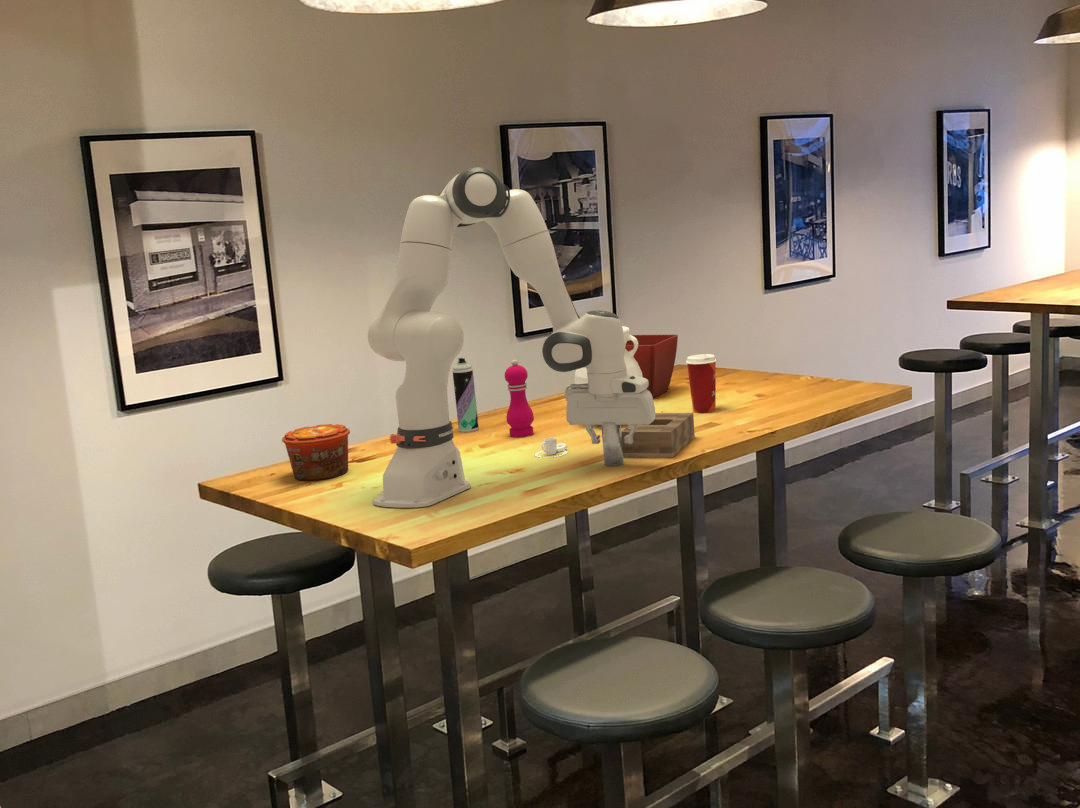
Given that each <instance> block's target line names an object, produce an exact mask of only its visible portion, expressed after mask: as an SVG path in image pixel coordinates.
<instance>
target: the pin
mask: <svg viewBox="0 0 1080 808" xmlns="http://www.w3.org/2000/svg"><path fill="white" fill-rule="evenodd" d="M600 426H601V428H600V429H601V438H602V439H601V441H602V451H603V461H604V463H603V465H604V466H605V467H610V468H611V467H614V468H615V467H620V466H622V465H624V464H625V461H624V458H625V457H623V445H622V432H621V431H622V425H616V424H615V422H609V423H602V425H600Z"/></svg>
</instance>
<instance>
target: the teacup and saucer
mask: <svg viewBox="0 0 1080 808" xmlns="http://www.w3.org/2000/svg"><path fill="white" fill-rule="evenodd" d="M540 445H541V449H542V450H541V451H540V450H539V451H537V452H535V454H534V457H535V458H539V457H540V458H541V459H552V458H551V457H552V456H553V454H554V458H559V457H562V456H565V455H567V454H568V451H567V448H568V445H567V444H566V443H564V442H563V443H562V442H560V443H557V438H556V437H545V438H543V441H542V443H541V444H540ZM541 452H543V453H545V454H546V455H547V456H542V457H543V458H542V457H541V455H540V454H539V453H541ZM563 452H564V453H563ZM557 453H561V454H562V455H561V454H559V456H558V455H556V454H557ZM538 454H539V456H538ZM541 454H542V453H541ZM549 457H550V458H549Z"/></svg>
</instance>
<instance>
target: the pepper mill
mask: <svg viewBox="0 0 1080 808" xmlns="http://www.w3.org/2000/svg"><path fill="white" fill-rule="evenodd" d="M528 375H529V374H528V370H527V369H526V368H525V367H524V366H523V365H519V361H518V360H517V359H512V360H511V365H510V366H509V367H507V368H506V369H505V372H504V380H505V381H506V382H507V383H508V384H507V391H509V395H510V403H509V407H508V409H507V412H506V416H505V417H506V422H507V424H508V425H509V426H510V428H509V436H510V437H512V438H525V437H529V436H531V435H532V436H533V435H534V427H533V426H532V424H533V422H534V420H535V416H534V415H535V414H534V412H533V410H532V408H531V406H530V404H529V402H528V400H527V396H526V390H527V388H528V386H527V382H526V381H527V379H528V377H529V376H528Z"/></svg>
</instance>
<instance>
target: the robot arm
mask: <svg viewBox="0 0 1080 808" xmlns="http://www.w3.org/2000/svg"><path fill="white" fill-rule="evenodd" d="M479 222H485V223H486V224H487V225H489V226H490V227H491V228H492V229H493V231H494V233H495V234H496V236H497V239H498V243H499V245H500V248H501V251H502V255H503V256H504V258H505V260H506V263H507V264H508V266H509V268H510V270H511V271H512V273H513V274H514V275H515V277H518V279H521V280H522V281H524V282H526V283H527V284H529V285H530V286H531V287H532V288H534V290H535V291H536V292H537V294H538V295H539V296H540V299H541V302H542V304H543V306H544V308H545V311H546V313H547V316H548V317H549V321H550V323H551V325H552V333H551V334H549V335H548V336H547V337H546V338H545V340H544V342H543V345H542V352H541V353H542V358H543V360H544V362H545V364H547V366H548V368H550V369H552V370H554V371H555V372H558V373H559V372H560V373H569V372H572V371H576V369H580V368H586V369H587V378H588V384H574V383H571V384H569V386H567V387H566V388H565V391H564V397H565V401H566V407H565V408H566V410H565V411H566V412H565V413H566V414H565V415H566V417H565V418H566V421H567V423H568V424H569V425H571V426H573V425H574V426H577V425H578V426H585V430H586V432H587V433H588V435H589V436H590V439H591V444H592V445H599V444H600V443H601V439H600V438H601V435H600V434H597V433H596V432H595V430H594V428H595V426H601V425H602V423H609V422H615V424H616V425H621V426H627V427H628V429H631V431H630V433H629V435H626V436H625V437H624V440H625V444H632V443H633V435H634V433H635V431H636V429H637V425H649V424H651V423H652V422H653V421H654V419H655V413H656V408H655V401H654V398H653V397H652V394H651V393H650V391H648V390H647V387H648V386H649V382H648V380H647V379H646V378H643V377H639V376H636V375H633V374H630V373H627V368H626V364H625V362H624V353H625V343H624V334H623V328H622V326H623V324H622V321H621V319H620V317H619V316H618V315H617V314H615V313H614V312H611V311H606V310H589V311H586V312H585V314H583V315H582V316H581V317H580V315H579V313H578V312H577V310H576V308H575V305H574V303H573V299H572V298H571V296H570V293H569V291H568V288H567V286H566V284H565V281H564V279H563V276H562V272H561V270H560V267H559V262H558V259H557V254H556V251H555V247H554V244H553V240H552V237H551V234H550V232H549V230H548V227H547V224H546V222H545V219H544V217H543V215H542V212H541V211H540V209H539V208H538V206H537V204H536V202H535V200H534V198H533V197H532V195H531V194H530V193H529V192H528V191H526V190H524V189H515V188H514V189H510V188H509V186H507V185H506V184H504V183H503V181H501V180H500V179H499V177H498V176H497V175H496V174H495V173H493V172H492V171H490V169H487V168H485V167H480V166H476V167H469V168H466V169H464V170H462V171H461V172H460V173H458V174H456V175H454V176H453V177H452V178H451V179H450V180H449V182H447V184H445V186H444V187H443V189H442V190H440V192H439V193H438V195H431V194H425V195H420V196H418V197H415V198H414V199H413V200H412V201H411V202H410V203H409V206H408V209H407V212H406V215H405V219H404V222H403V225H402V231H401V236H400V242H399V243H400V244H399V250H398V257H397V258H398V259H397V264H396V265H397V266H396V271H395V277H394V281H393V284H392V286H391V287H392V288H391V289H390V292H389V295H388V298H387V300H386V301H385V304H384V305H383V307H382V310H381V311H380V312H379V313H378V315H376V316H375V318H373V319H372V320H371V322H370V324H369V326H368V330H367V340H368V344H369V346H370V349H371V350H372V351H373V352H374V353H375V354H377V355H379V356H381V357H383V358H385V359H388V360H390V361H395V362H405V373H404V379H403V381H402V383H401V385H399V387H398V388H397V389H396V392H395V402H396V410H397V419H398V420H397V421H398V427H397V432H396V434H394V433H391V434H390V435H389V442H390V444H392V445H394V444H396V449H395V452H394V453H393V455H392V457H391V459H390V461H389V463H388V464H387V467H386V468H385V470H384V472H383V476H382V486H383V487H382V488H383V489H382V490H383V491H382V492H381V493H380V494H379V495H377V496H375V497H374V499H373V500H372V501H373V505H374V506H378V507H385V508H399V509H400V508H401V509H403V508H406V509H407V508H410V509H411V508H422V507H429V506H432V505H435V504H437V503H440V502H441V501H443V500H446V499H448V498H451V497H452V496H455V495H457V494H459V493H461V492H463V491H467V490H468V489H470V488H471V487H472V486H471V482H470V481H468V480H466V478H465V477H466V476H465V472H464V466H463V462H462V457H461V452H460V450H459V448H458V447H457V446H456V444H455V443H454V440H453V439H454V427H453V422H452V421H451V419H450V411H449V401H448V380H449V375H450V371H451V367H452V364H453V361H454V360H455V359H456V357H458V355H459V354H460V353H461V351H462V348H463V345H464V338H465V336H464V330H463V327H462V325H461V324H460V322H459V321H458V320H457V319H456V318H454V317H452V316H450V315H448V314H446V313H445V314H444V313H442V312H439V311H431V310H432V307H433V305H434V303H435V301H436V300H437V298H438V297H439V295H440V294H442V293H443V292H444V290H445V289H446V287H447V285H448V281H449V273H450V265H451V257H452V249H453V238H454V236H455V235H454V234H455V231H456V229H457V228H460V227H469V226H472V225H474V224H477V223H479ZM577 388H578V389H577Z"/></svg>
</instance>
